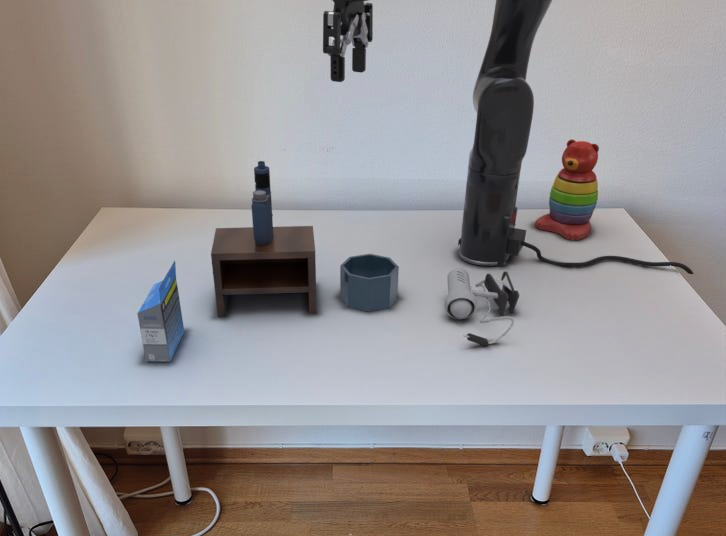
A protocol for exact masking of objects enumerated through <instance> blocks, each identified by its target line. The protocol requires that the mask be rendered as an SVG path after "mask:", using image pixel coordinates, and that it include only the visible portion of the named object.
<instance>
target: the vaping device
mask: <svg viewBox="0 0 726 536" xmlns="http://www.w3.org/2000/svg"><path fill="white" fill-rule="evenodd" d="M253 174H254V176H253V177H254V189H255V190H254V191H253V192H252V198H251V205H250V206H251V216H252V217H251V218H252V219H251V220H252V227H253V234H254V240H255V243H256V244H258V245H267V244H269V243H270V241H271V239H272V237H273V227H274V223H273V221H274V220H273V216H274V214H273V204H272V191H271V190H272V189H271V171H270V167H269V166H267V165H266V162H265V160H259V161H257V166H255V167H254V168H253Z"/></svg>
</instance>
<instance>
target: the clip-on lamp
mask: <svg viewBox="0 0 726 536" xmlns="http://www.w3.org/2000/svg"><path fill="white" fill-rule="evenodd" d="M446 279H447V295H446V297H445V298H444V309H445V312H446V313H447V314H448V316H449V317H450V318H452V319H455V320H464V319H468V318H470V317H472V316H473V315H474V314H475V311H476V310H477V307H478V306H477V304H478V301H477V297H479V298H485V300H486V303H487V306H488V311H487V312H486V313H485V314H484V315H483V317H481V318H480V320H479V323H480V324H486V323H490V322H491V323H492V322H495V321H500V320H510V321H511V323H510V325H509V326H508V328H507V329H506V330H505V331H504V332H503V333H502V334H501V335H499V337H497V338H496V339H494V340H490V341H488V338H485V337H483V336H480V335H479V336H478V335H476V334H473V333H471V332H468V333H467V334H463V335H462V337H464V338H466V340H467V341H469V342H472V343H475V344H477V345H480V346H484V347H487V346H488V345H491V344H495V343H497V342H499V341H500V340H501V339H502V338H503V337H505V336H506V335H507V334H508V332H509V331H511V329H512V327H513V326H514V323H515V320H514V318H513V317H512V316H508V315H504V312H505V310H506V307H507V304H508V308H507V309H508V312H509V313H510V314H513V313H514V312H515V309H516V306H517V303H518V302H519V301H518V300H519V298H520V293H519V290H515V288H514V286H513V283H512V280H511V278H510V275H509V273H508V271H503V272H502V275H501V278H500V279H499V278H497V277H495V276H494V275H492V274H491V273H486V275H485V277H484V279H483V280H481V281H479V282H477V283H475V288H479V287H481V288H482V289H483V290H473V289H472V285H471V281H470V274H469V272H468V271H467V269H465V268H464V267H459V266H457V267H454V268H452V269H450V270H449V272H448V274H447V278H446ZM486 290H487V291H486ZM489 299H493V301H494V303H495V305H496V306H497V307H498V308H497V313H498V315H499V316H496V317H492V318H487V317H488V315H489V314H490V312H491V304H490V301H489ZM485 318H487V319H485Z"/></svg>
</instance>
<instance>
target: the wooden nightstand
mask: <svg viewBox="0 0 726 536" xmlns="http://www.w3.org/2000/svg"><path fill="white" fill-rule="evenodd" d="M213 235H214V236H213V240H212V247H211V250H210V251H211V252H210V259H211V266H212V267H211V268H212V276H213V285H214V294H215V295H214V296H215V304H216V305H215V306H216V312H217V313H216V314H217V317H218V318H226V314H227V306H228V297H229V295H230V296H231V295H232V296H233V295H261V294H262V295H263V294H267V295H268V294H296V293H299V294H300V293H307V300H308V302H307V303H308V314H309V315H317V313H318V312H317V311H318V309H317V268H316V266H317V264H316V262H317V261H316V244H315V233H314V226H313V225H293V226H292V225H291V226H290V225H289V226H273V237H272V239H271V241H270V243H269V244H267V245H258V244H256V243H255V240H254V234H253V226H251V227H249V226H248V227H246V226H245V227H216V228H215V230H214V234H213Z"/></svg>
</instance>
